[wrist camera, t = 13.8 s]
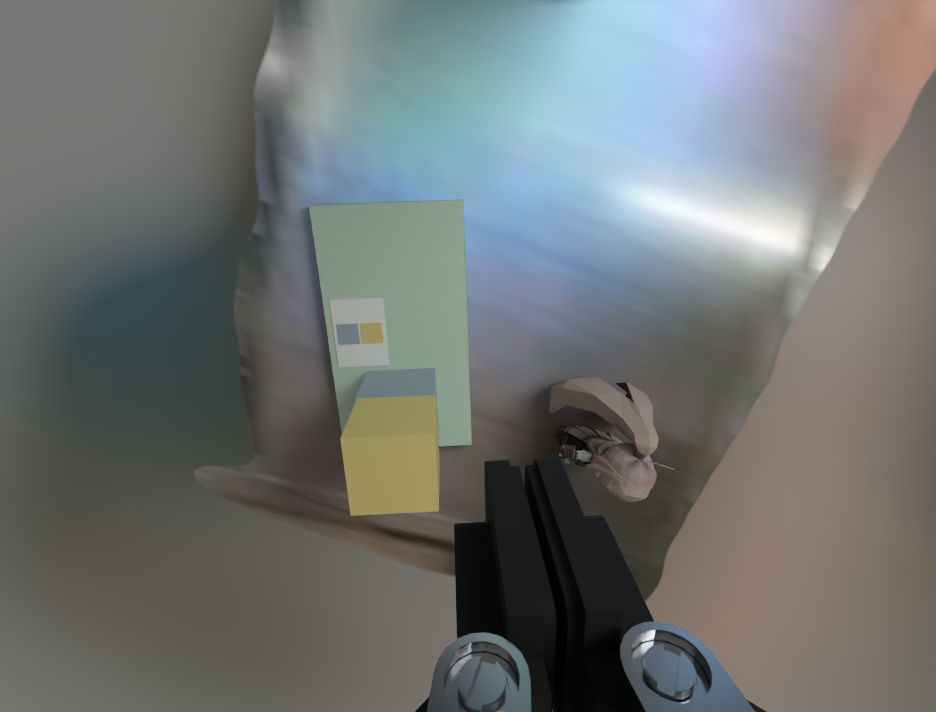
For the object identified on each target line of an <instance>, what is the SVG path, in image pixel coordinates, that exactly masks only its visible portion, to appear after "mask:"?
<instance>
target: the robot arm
mask: <svg viewBox="0 0 936 712" xmlns="http://www.w3.org/2000/svg"><path fill="white" fill-rule="evenodd" d="M485 509H486V522H476V523H459V524H454V534H455V573H456V612H457V640H455V641H454V642H452V643H451V644H450V645H448V646H447V647H446V649H445V650H444V651H443V653H442V654H441V655H440V657H439V658H438V661H437V664H436V667H435V670H434V673H433V679H432V685H431V690H430V696H429V698H428V699H427V700H426V701H425V702H424V703H423V704H422V705H421V706H420V707H419V708H418V709H417V710H416V711H415V712H552V709H553V712H766V711H764V710H762V709H761V708H759V707H757V706H756V705H754V704H753V703H751V702H749V701H748V700H746V698H745V697H744V696H743V694H742V693H741V691H740V690H739V689H738V687H737V686H736V685H735V683H734V682H733V681H732V679H731V678H730V676H729V675H728V674H727V672H726V671H725V670H724V668H723V667H722V666H721V664H720V663H719V661H718V660H717V659H716V657H715V656H714V655H713V653H712V652H711V651H710V650H709V649H708V648H707V647H706V646H705V645H704V644H703V642H702V641H700V640H699V639H698V638H696V637H695V636H694V635H692V634H691V633H689V632H688V631H686V630H684V629H682V628H679V627H677V626H675V625H672V624H668V623H663V622H658V621H656V622H654V620H653V618H652V616H651V614H650V612H649V610H648V608H647V605H646V603H645V601H644V599H643V597H642V595H641V593H640V591H639V589H638V587H637V584H636V582H635V580H634V578H633V576H632V574H631V572H630V570H629V568H628V566H627V564H626V561H625V559H624V557H623V555H622V553H621V551H620V549H619V547H618V545H617V543H616V541H615V538H614V536H613V534H612V532H611V530H610V528H609V526H608V524H607V522H606V520H605V519H604V517H602V516H601V515H599V516H584V515H583V512H582V510H581V508H580V505H579V503H578V500H577V498H576V496H575V493H574V491H573V489H572V486H571V484H570V481H569V479H568V477H567V474H566V472H565V469H564V467H563V465H562V462H561V460H560V458H558V457H557V458H538V459H534V462H533V465H529V466H526V467H525V487H524V484H523V480H522V476H521V472H520V468H519V466H510V462H509V460H500V461H485Z"/></svg>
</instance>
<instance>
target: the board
mask: <svg viewBox="0 0 936 712" xmlns="http://www.w3.org/2000/svg"><path fill="white" fill-rule="evenodd" d="M309 210H310V217H311V224H312V231H313V238H314V245H315V252H316V259H317V266H318V272H319V279H320V286H321V293H322V300H323V307H324V314H325V321H326V328H327V335H328V342H329V349H330V356H331V363H332V370H333V377H334V384H335V391H336V398H337V405H338V412H339V419H340V426H341V433H343V431H344V428H345V426H346V424H347V421H348V419H349V416H350V414H351V412H352V409H353V407H354V404H355V398H356V396H357V394H358V391H359V389H360V387H361V384H362V382H363V380H364V377H365V375H366V373H367V371H380V370H401V369H421V368H435V373H436V390H437V406H438V422H439V446H458V445H472V438H471V409H470V380H469V351H468V322H467V294H466V265H465V236H464V207H463V200H439V201H412V202H384V203H356V204H328V205H310V206H309Z"/></svg>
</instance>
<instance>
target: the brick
mask: <svg viewBox="0 0 936 712" xmlns="http://www.w3.org/2000/svg"><path fill="white" fill-rule="evenodd" d="M340 440H341V447H342V455H343V462H344V470H345V477H346V484H347V492H348V499H349V507H350V514H351V516H355V515H375V514H395V513H414V512H434V511H439V471H440V460H439V440H438V421H437V402H436V395H425V396H401V397H376V398H357V400H356V402H355V404H354V407H353V409H352V412H351V414H350V416H349V419H348V421H347V424H346V426H345V428H344V431H343V433H342V436H341V438H340Z"/></svg>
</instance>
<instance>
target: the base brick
mask: <svg viewBox="0 0 936 712" xmlns="http://www.w3.org/2000/svg"><path fill="white" fill-rule="evenodd" d="M425 395H436V402H437V390H436V373H435V368H421V369H401V370H380V371H367V373H366V375H365V377H364V380H363V382H362V384H361V387H360V389H359V391H358V394H357V396H356V398H355V402H356V400H357V398H376V397H401V396H425ZM437 421H438V406H437ZM438 440H439V422H438Z"/></svg>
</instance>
